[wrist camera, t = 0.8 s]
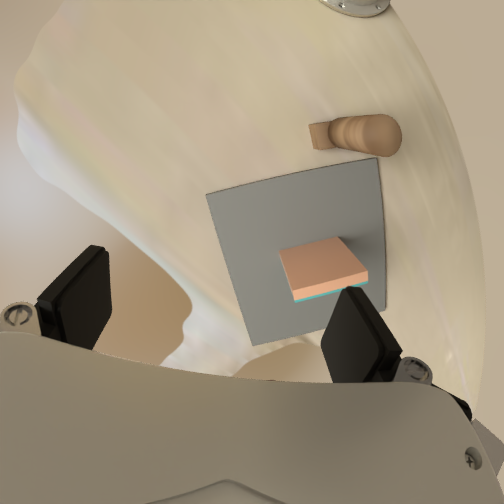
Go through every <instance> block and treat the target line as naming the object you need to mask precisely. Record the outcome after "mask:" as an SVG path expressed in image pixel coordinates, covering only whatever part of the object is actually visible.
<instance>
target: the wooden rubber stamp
mask: <svg viewBox="0 0 504 504" xmlns="http://www.w3.org/2000/svg"><path fill="white" fill-rule="evenodd" d="M309 129H310V134H311V138H312V143H313V148H314V149H318V150H323V149H329V148H334V147H338V148H342V149H348V150H353V151H358V152H363V153H368V154H372V155H377V156H381V157H389V156H392V155H393V154H395V153H396V152H397V151H398V149H399V148H400V146H401V142H402V133H401V129H400V127H399V125H398V123H397V122H396V121H395V120H394V119H393V118H392V117H390V116H388V115H384V114H378V115H364V116H353V117H343V118H337V119H335V120H333V121H329V122H323V123H316V124H311V125H309Z"/></svg>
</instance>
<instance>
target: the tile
mask: <svg viewBox="0 0 504 504" xmlns="http://www.w3.org/2000/svg"><path fill="white" fill-rule="evenodd" d="M279 254H280V259H281V262H282V265H283V268H284V271H285V274H286V277H287V281H288V284H289V287H290V290H291V293H292V296H293V299H294V302H295V303H297V302H301V301H305V300H309V299H312V298H316V297H320V296H324V295H328V294H331V293H335V292H339V291H341V290H342V289H345V288H346V287H347V286H354V287H356V286H360V285H363V284H367V283H368V271H367V269H366V268H365V267H364V266H363V265H362V264H361V262H360V261H359V260H358V259H357V258H356V257H355V256H354V254H353V253H352V252H351V251H350V250H349V249H348V248H347V246H346V245H345V244H344V243H343V242H342V241H341V240H340V239H339V238H338V236H337V237H333V238H329V239H325V240H321V241H317V242H313V243H308V244H304V245H300V246H296V247H292V248H288V249H284V250H280V251H279Z"/></svg>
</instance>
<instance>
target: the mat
mask: <svg viewBox="0 0 504 504" xmlns="http://www.w3.org/2000/svg"><path fill="white" fill-rule="evenodd" d="M206 199H207V202H208V205H209V209H210V212H211V216H212V219H213V222H214V226H215V229H216V232H217V236H218V239H219V242H220V246H221V249H222V252H223V255H224V259H225V262H226V265H227V268H228V271H229V275H230V278H231V281H232V284H233V287H234V290H235V294H236V297H237V300H238V303H239V306H240V309H241V312H242V315H243V318H244V322H245V325H246V328H247V331H248V334H249V337H250V340H251V343H252V346H255V345H260V344H264V343H269V342H273V341H278V340H282V339H286V338H290V337H294V336H298V335H302V334H306V333H310V332H314V331H318V330H322V329H325V328H326V327H327V325H328V323H329V320H330V318H331V315H332V313H333V310H334V308H335V305H336V303H337V300H338V298H339V295H340V293H341V291H339V292H335V293H331V294H328V295H324V296H320V297H316V298H312V299H309V300H305V301H301V302H297V303H295V302H294V299H293V296H292V293H291V290H290V287H289V284H288V281H287V277H286V274H285V271H284V268H283V265H282V262H281V259H280V254H279V251H280V250H284V249H288V248H292V247H296V246H300V245H304V244H308V243H313V242H317V241H321V240H325V239H329V238H333V237H337V236H338V238H339V239H340V240H341V241H342V242H343V243H344V244H345V245H346V246H347V248H348V249H349V250H350V251H351V252H352V253H353V254H354V256H355V257H356V258H357V259H358V260H359V261H360V262H361V264H362V265H363V266H364V267H365V268H366V269H367V271H368V283H367V284H363V285H360V286H356V287H361V288H362V289H363V291H364V292H365V294H366V295H367V297H368V298H369V299H370V301H371V302H372V304H373V305H374V307H375V308H376V310H377V311H378V313H379V312H382V311H385V294H386V273H385V240H384V223H383V210H382V199H381V190H380V181H379V173H378V165H377V158H370V159H364V160H358V161H353V162H347V163H342V164H336V165H331V166H326V167H321V168H316V169H311V170H306V171H301V172H297V173H292V174H287V175H283V176H278V177H274V178H270V179H265V180H261V181H257V182H253V183H249V184H245V185H241V186H237V187H233V188H229V189H225V190H221V191H217V192H214V193H210V194H206Z"/></svg>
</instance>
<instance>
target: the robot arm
mask: <svg viewBox="0 0 504 504" xmlns="http://www.w3.org/2000/svg"><path fill="white" fill-rule="evenodd" d="M319 1H321V2H322V3H323V4H325V5H326V6H328V7H330V8H332V9H334V10H336V11H338V12H341V13H343V14H346V15H350V16H355V17H370V16H374V15H377V14H379V13H381V12H382V11H383V10H385V9H386V8H387V7H388V5H389V3H390V0H319ZM339 6H340V7H339ZM37 301H38V302H37V303H36V304H35V305H34V306H33V305H32V304H30V303H28V302H16V303H13V304H11V305H9V306H7V307H6V308H5V309H4V310H3V311H2V313H1V314H0V504H504V495H503V492H502V489H501V487H500V484H499V481H498V479H497V475H498V472H499V470H500V468H501V466H502V463H503V461H504V444H503V443H502V442H501V440H499V439H498V438H497V437H496V436H495V435H494V434H492V433H491V432H490V431H489V430H488V429H487V428H486V427H484V426H483V425H482V424H481V423H480V422H479V421H478V420H476V419H474V420H473V421H472V420H471V419H472V412H471V409H470V408H469V405H468V404H467V403H466V402H465V401H464V400H461V399H459V398H458V397H456V396H454V395H452V394H450V393H448V392H447V391H445V390H443V389H441V388H439V387H437V386H436V385H434V384H432V378H433V376H432V371H431V369H430V368H429V367H428V365H427V364H425V363H424V362H423V361H421V360H420V359H417V358H415V357H405V358H403V359H401V357H400V354H401V353H402V351H403V350H402V349H401V347H400V346H399V344H398V342H397V341H396V339H395V338H394V336H393V334H392V333H391V331H390V330H389V328H388V327H387V325H386V324H385V322H384V320H383V319H382V317H381V316H380V314H379V313H378V311H377V310H376V308H375V307H374V305H373V304H372V302H371V301H370V299H369V298H368V297H367V295H366V294H365V292H364V291H363V289H362V288H361V287H354V286H347V287H346V288H345V289H342V290H341V293H340V295H339V298H338V300H337V303H336V305H335V308H334V310H333V313H332V315H331V318H330V320H329V323H328V325H327V327H326V330H325V332H324V334H323V337H322V339H321V349H322V352H323V354H324V357H325V360H326V363H327V366H328V369H329V372H330V375H331V378H332V381H333V383H305V382H284V381H283V382H282V381H268V380H255V379H244V378H235V377H227V376H218V375H211V374H203V373H196V372H190V371H184V370H178V369H172V368H167V367H162V366H156V365H151V364H147V363H142V362H137V361H133V360H128V359H124V358H120V357H116V356H112V355H107V354H103V353H100V352H96V351H92V349H93V347H94V345H95V343H96V341H97V340H98V338H99V336H100V334H101V332H102V331H103V329H104V327H105V325H106V324H107V322H108V320H109V318H110V316H111V313H112V302H111V289H110V270H109V253H108V252H107V251H105V248H104V247H100V246H95V245H90V246H89V247H88V248H87V249H86V250H84V251H83V252H82V253H81V254H80V255H79V256H78V257H77V258H76V259H75V260H74V261H73V262H72V263H71V264H70V265H69V266H68V267H67V268H66V269H65V270H64V271H63V272H62V273H61V274H60V275H59V276H58V277H57V278H56V279H55V280H54V281H53V282H52V283H51V284H50V285H49V286H48V287H47V288H46V289H45V290H44V291H43V293H42V294H41V295H40V296H39V297H38V298H37Z"/></svg>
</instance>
